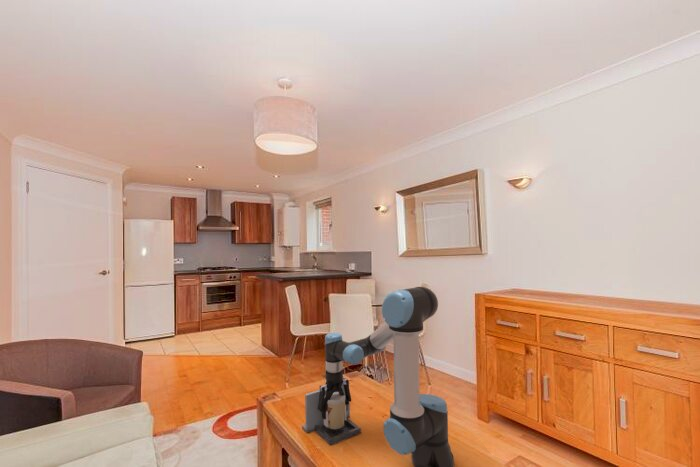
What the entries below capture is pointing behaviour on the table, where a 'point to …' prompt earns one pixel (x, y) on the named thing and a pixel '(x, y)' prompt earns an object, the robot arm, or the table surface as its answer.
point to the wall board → (316, 411)
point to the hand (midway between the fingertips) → (335, 422)
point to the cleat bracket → (338, 432)
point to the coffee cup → (336, 411)
